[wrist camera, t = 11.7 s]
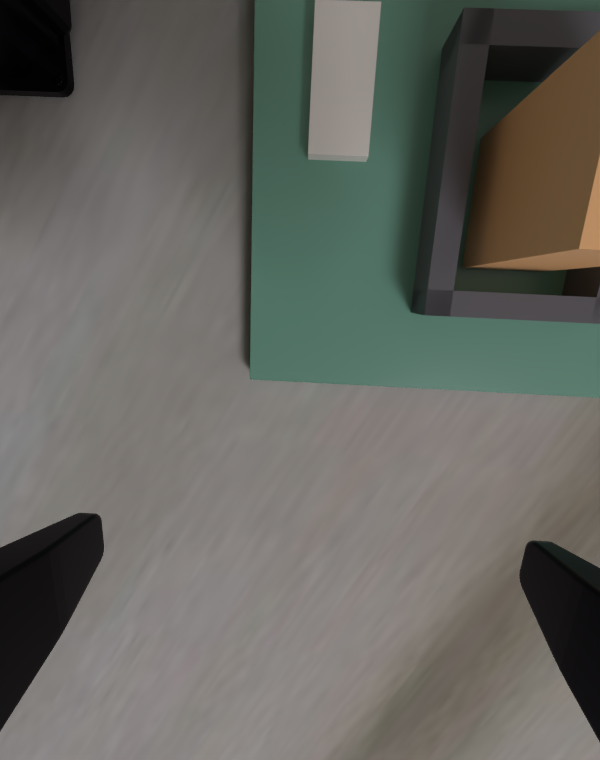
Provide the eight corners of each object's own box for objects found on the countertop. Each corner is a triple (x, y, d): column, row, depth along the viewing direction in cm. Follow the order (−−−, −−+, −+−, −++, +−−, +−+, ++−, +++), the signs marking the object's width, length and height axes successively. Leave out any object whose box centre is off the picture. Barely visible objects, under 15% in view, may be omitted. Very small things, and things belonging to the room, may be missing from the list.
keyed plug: (461, 267, 16) (578, 248, 9) (485, 109, 14) (647, -62, 7) (542, 271, 15) (724, 255, 9) (574, 112, 14) (823, -57, 7)
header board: (253, 374, 18) (241, 390, 15) (259, -17, 14) (245, -97, 11) (696, 397, 18) (772, 419, 15) (826, 1, 14) (965, -78, 11)
